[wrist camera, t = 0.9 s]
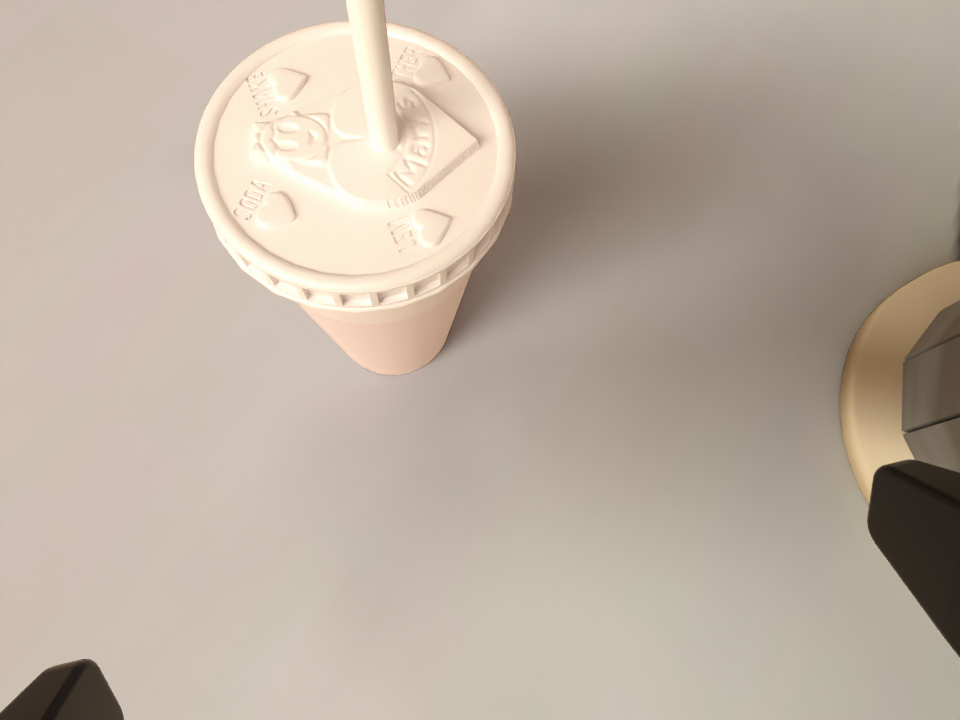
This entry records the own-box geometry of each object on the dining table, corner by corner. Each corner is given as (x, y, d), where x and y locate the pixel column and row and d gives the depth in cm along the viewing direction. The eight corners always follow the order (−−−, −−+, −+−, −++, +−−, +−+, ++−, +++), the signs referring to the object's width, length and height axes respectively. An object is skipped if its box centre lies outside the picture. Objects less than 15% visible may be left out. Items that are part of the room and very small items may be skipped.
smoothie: (492, 415, 21) (566, 153, 8) (289, 416, 21) (22, 147, 8) (487, 236, 23) (540, -212, 10) (301, 235, 23) (105, -228, 10)
